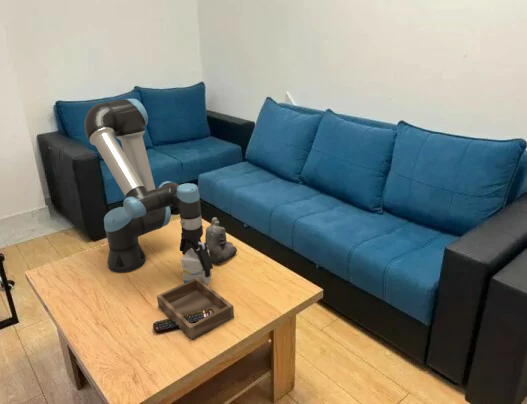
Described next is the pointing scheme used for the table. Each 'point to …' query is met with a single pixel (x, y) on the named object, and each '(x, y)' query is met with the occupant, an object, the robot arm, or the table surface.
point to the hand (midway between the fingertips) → (197, 275)
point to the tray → (195, 307)
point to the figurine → (218, 243)
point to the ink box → (191, 266)
